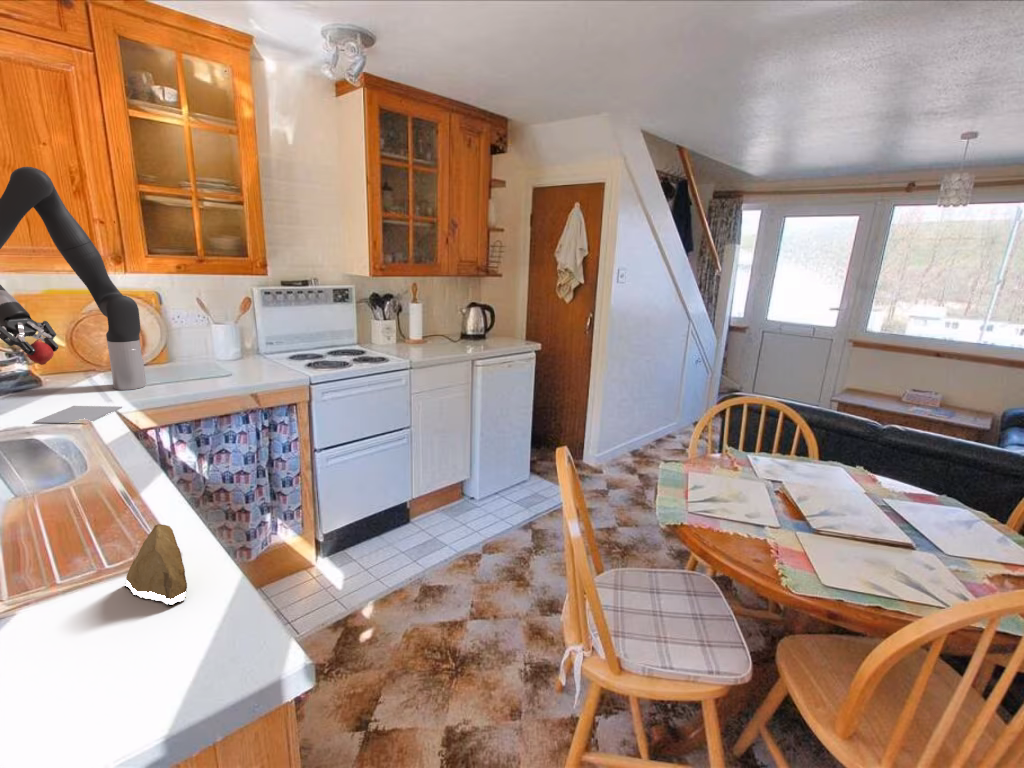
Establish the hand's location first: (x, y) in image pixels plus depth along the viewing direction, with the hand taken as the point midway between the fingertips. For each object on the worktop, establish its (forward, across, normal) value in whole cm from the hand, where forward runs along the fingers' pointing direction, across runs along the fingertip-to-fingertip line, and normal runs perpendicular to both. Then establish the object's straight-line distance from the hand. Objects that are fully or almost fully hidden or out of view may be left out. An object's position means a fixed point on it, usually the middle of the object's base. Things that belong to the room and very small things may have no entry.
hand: (44, 351), depth 150 cm
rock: (+84, -65, -59) cm, 121 cm away
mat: (+22, -3, +4) cm, 22 cm away
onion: (+2, 0, +4) cm, 5 cm away
